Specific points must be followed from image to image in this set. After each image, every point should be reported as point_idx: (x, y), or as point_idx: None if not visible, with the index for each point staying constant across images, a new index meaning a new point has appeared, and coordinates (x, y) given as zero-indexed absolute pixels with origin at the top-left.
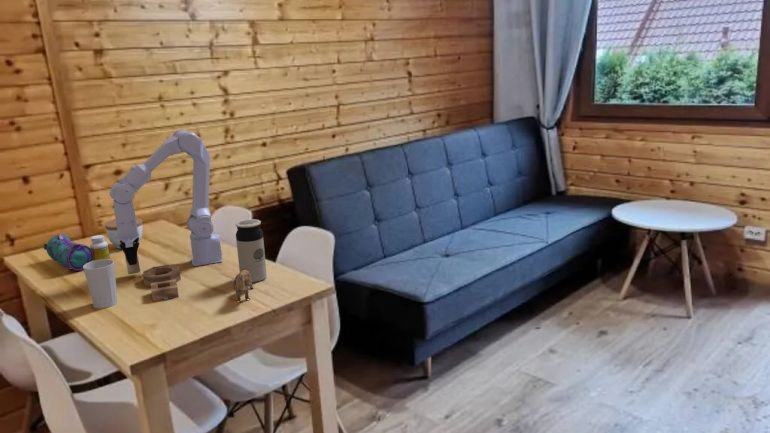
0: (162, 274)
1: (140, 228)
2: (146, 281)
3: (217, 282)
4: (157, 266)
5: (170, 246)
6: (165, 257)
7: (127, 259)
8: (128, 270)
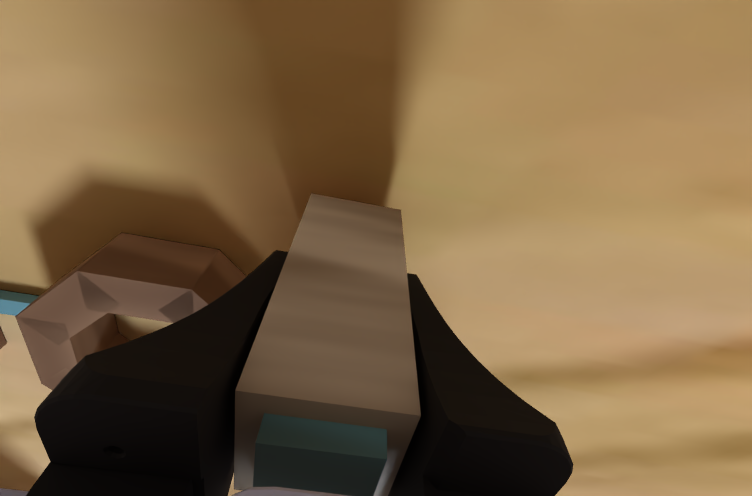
0: (73, 360)
1: None
2: (89, 258)
3: (48, 457)
4: None
5: (717, 455)
6: (563, 408)
7: (243, 280)
8: (303, 213)
